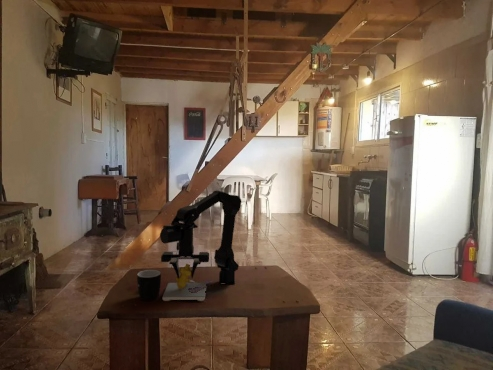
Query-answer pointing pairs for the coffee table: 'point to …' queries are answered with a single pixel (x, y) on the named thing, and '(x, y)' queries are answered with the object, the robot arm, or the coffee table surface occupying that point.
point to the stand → (184, 292)
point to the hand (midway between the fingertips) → (185, 277)
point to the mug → (149, 284)
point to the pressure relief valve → (184, 276)
